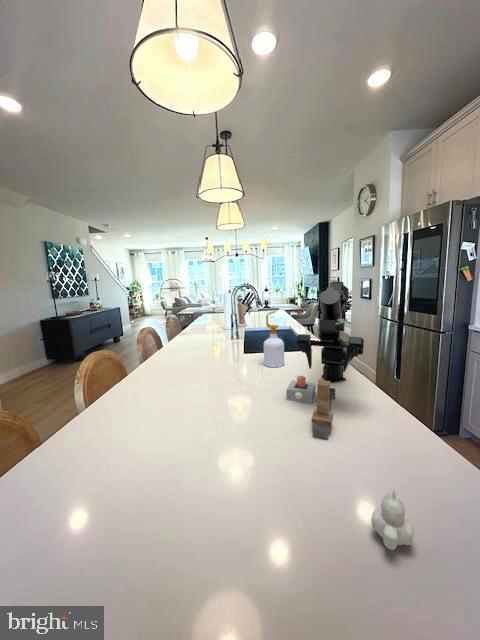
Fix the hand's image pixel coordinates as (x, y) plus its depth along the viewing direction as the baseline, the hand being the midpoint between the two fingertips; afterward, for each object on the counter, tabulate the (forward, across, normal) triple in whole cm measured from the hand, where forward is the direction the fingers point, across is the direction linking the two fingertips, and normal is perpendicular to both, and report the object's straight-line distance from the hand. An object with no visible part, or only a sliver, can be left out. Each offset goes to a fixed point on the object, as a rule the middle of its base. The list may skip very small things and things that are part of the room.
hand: (326, 369), depth 75 cm
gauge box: (+3, -9, +15) cm, 18 cm away
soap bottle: (-16, -26, +35) cm, 47 cm away
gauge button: (+1, -9, +13) cm, 16 cm away
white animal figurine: (+34, +13, -15) cm, 40 cm away
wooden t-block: (+14, 0, +2) cm, 14 cm away
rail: (+10, 0, +8) cm, 13 cm away
